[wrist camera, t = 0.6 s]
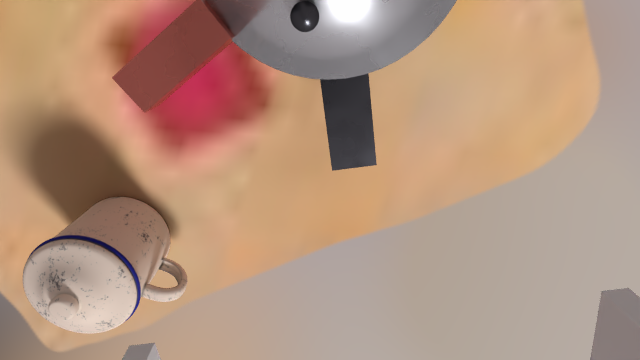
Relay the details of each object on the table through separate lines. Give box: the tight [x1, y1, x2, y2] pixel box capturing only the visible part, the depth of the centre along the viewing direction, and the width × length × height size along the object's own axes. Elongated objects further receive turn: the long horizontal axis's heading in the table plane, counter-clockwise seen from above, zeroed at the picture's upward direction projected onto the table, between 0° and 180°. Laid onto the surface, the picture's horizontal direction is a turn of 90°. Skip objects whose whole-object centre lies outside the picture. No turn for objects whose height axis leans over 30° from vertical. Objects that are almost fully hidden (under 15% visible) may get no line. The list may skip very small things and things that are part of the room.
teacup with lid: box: [23, 197, 187, 333], centre depth 35 cm, size 12×9×12 cm
